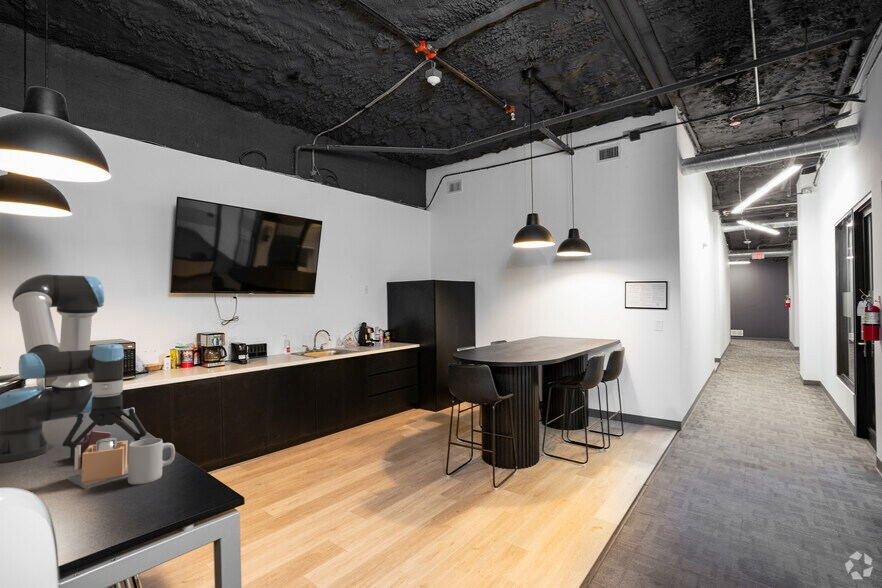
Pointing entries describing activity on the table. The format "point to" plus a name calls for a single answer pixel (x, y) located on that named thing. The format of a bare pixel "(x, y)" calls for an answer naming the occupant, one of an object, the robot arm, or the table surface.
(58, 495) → the table surface
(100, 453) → the tan wooden box
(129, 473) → the mug
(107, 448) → the duct flange
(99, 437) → the bracket
